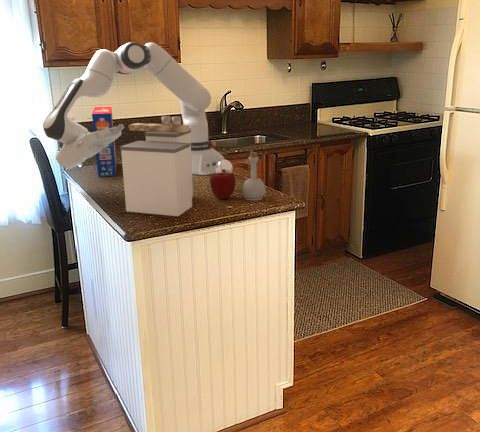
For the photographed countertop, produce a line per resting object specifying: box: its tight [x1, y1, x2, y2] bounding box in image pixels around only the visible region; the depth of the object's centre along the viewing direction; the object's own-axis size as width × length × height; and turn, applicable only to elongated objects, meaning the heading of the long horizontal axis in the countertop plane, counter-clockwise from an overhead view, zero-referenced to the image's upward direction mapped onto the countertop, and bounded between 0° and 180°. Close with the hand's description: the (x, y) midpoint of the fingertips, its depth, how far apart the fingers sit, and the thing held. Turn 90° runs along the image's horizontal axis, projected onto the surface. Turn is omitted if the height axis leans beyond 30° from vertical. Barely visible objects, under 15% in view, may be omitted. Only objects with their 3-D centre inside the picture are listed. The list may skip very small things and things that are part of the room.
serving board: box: [128, 115, 190, 132], centre depth 190 cm, size 22×6×5 cm, turn 71°
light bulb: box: [215, 159, 234, 174], centre depth 210 cm, size 7×7×12 cm
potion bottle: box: [241, 150, 267, 202], centre depth 195 cm, size 9×9×18 cm
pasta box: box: [91, 106, 117, 177], centre depth 245 cm, size 28×8×28 cm, turn 13°
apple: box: [209, 172, 236, 200], centre depth 197 cm, size 10×10×10 cm
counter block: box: [119, 129, 194, 217], centre depth 188 cm, size 20×24×26 cm
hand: (115, 127), depth 196 cm, fingers open, 8 cm apart
